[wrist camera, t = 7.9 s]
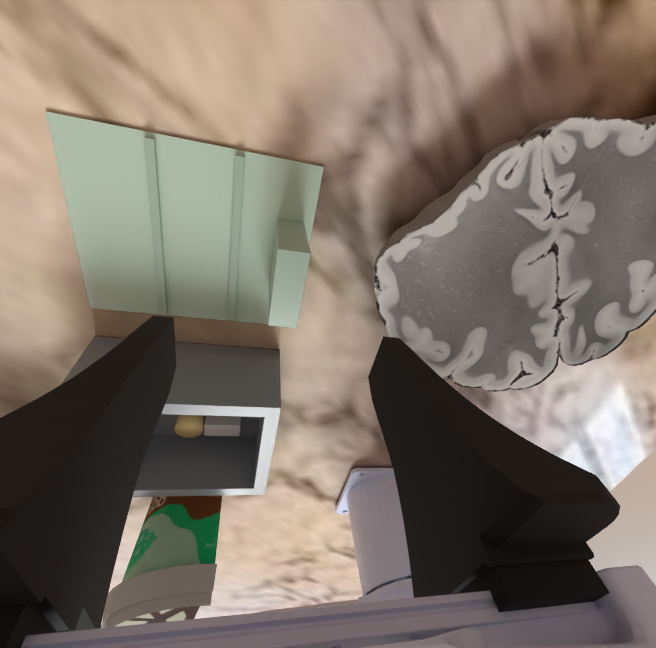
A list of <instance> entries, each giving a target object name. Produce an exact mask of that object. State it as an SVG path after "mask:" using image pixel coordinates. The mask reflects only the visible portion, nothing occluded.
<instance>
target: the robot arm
mask: <svg viewBox="0 0 656 648" xmlns="http://www.w3.org/2000/svg"><path fill="white" fill-rule="evenodd" d="M175 369H176V350H175V333H174V318H171V317H160V316H152V317H151V318H149V319H148V320H147V321H146V322H145V323H143V324H142V325H141V326H140V327H139V328H137V329H136V330H135V331H134V332H133V333H131V334H130V335H129V336H128V337H127V338H125V339H124V340H123V341H122V342H120V343H119V344H118V345H117V346H115V347H114V348H113V349H112V350H110V351H109V352H108V353H106V354H105V355H104V356H102V357H101V358H100V359H98V360H97V361H96V362H94V363H93V364H91V365H90V366H89V367H87V368H86V369H84V370H83V371H81V372H80V373H79V374H77V375H76V376H74V377H73V378H71V379H70V380H68V381H67V382H65V383H63V384H62V385H60V386H58V387H57V388H55V389H53V390H52V391H50V392H48V393H47V394H45V395H43V396H41V397H40V398H38V399H36V400H34V401H32V402H30V403H28V404H26V405H25V406H23V407H21V408H19V409H17V410H15V411H13V412H11V413H9V414H7V415H5V416H3V417H1V418H0V648H656V586H655V584H654V583H653V582H652V581H651V579H650V578H649V577H648V575H647V574H646V573H645V571H644V570H643V569H642V568H641V567H639V566H625V567H613V568H606V569H602V570H599V571H597V572H596V571H595V569H594V568H593V566H592V565H591V563H590V562H589V559H592V558H594V554H593V552H592V551H591V549H590V548H589V546H588V545H587V543H586V541H588V540H589V539H591V538H592V537H593V536H595V535H596V534H598V533H599V532H600V531H601V530H603V529H604V528H606V527H607V526H608V525H609V524H611V523H612V522H613V521H614V520H615V519H616V517H617V516H618V514H619V510H620V505H619V504H618V502H617V501H616V500H615V498H614V497H613V496H612V495H611V493H610V492H609V491H608V490H607V488H606V487H605V486H604V485H603V483H602V482H601V481H600V480H599V478H598V477H597V476H596V475H594V474H592V473H590V472H588V471H586V470H584V469H582V468H579V467H577V466H575V465H573V464H571V463H569V462H567V461H565V460H563V459H561V458H559V457H557V456H555V455H553V454H551V453H549V452H548V451H546V450H544V449H542V448H540V447H538V446H537V445H535V444H533V443H531V442H530V441H528V440H526V439H524V438H523V437H521V436H519V435H518V434H516V433H515V432H513V431H511V430H510V429H508V428H507V427H505V426H504V425H502V424H500V423H499V422H497V421H496V420H494V419H493V418H491V417H490V416H489V415H487V414H486V413H484V412H483V411H482V410H480V409H479V408H478V407H476V406H475V405H474V404H472V403H471V402H470V401H468V400H467V399H466V398H465V397H463V396H462V395H461V394H460V393H459V392H457V391H456V390H455V389H454V388H453V387H452V386H450V385H449V384H448V383H447V382H446V381H445V380H444V379H442V378H441V377H440V376H439V375H438V374H437V373H436V372H435V371H434V370H433V369H432V368H431V367H429V366H428V365H427V364H426V363H425V362H424V361H423V360H422V359H421V358H420V357H419V356H418V355H417V354H416V353H415V352H414V351H413V350H412V349H411V348H410V347H409V346H408V345H406V344H405V343H404V342H403V341H402V340H401V339H400V338H395V337H384V336H383V339H382V342H381V344H380V347H379V350H378V352H377V355H376V358H375V361H374V363H373V366H372V369H371V371H370V374H369V377H368V378H369V384H370V390H371V396H372V401H373V405H374V408H375V411H376V414H377V418H378V421H379V424H380V427H381V430H382V433H383V436H384V439H385V443H386V446H387V449H388V452H389V455H390V459H391V462H392V466H393V468H354V469H352V471H351V473H350V475H349V477H348V480H347V482H346V484H345V487H344V489H343V492H342V494H341V496H340V499H339V501H338V503H337V506H336V508H335V511H336V513H337V514H347V513H349V518H350V524H351V529H352V535H353V541H354V547H355V553H356V558H357V564H358V570H359V576H360V582H361V587H362V593H363V596H362V597H359V603H356V604H347V605H335V606H325V607H315V608H304V609H295V610H285V611H273V612H263V613H252V614H242V615H232V616H221V617H211V618H201V619H190V620H180V621H170V622H159V623H149V624H139V625H128V626H118V627H108V628H100V626H101V622H102V617H103V613H104V609H105V604H106V600H107V596H108V591H109V587H110V583H111V578H112V574H113V570H114V566H115V562H116V558H117V554H118V550H119V546H120V542H121V538H122V534H123V530H124V526H125V522H126V519H127V515H128V511H129V507H130V504H131V500H132V496H133V493H134V489H135V486H136V482H137V479H138V475H139V471H140V468H141V465H142V462H143V459H144V456H145V454H146V451H147V449H148V446H149V444H150V441H151V439H152V436H153V434H154V431H155V429H156V426H157V424H158V421H159V418H160V416H161V413H162V411H163V408H164V406H165V403H166V401H167V398H168V396H169V393H170V389H171V385H172V382H173V378H174V373H175Z"/></svg>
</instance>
